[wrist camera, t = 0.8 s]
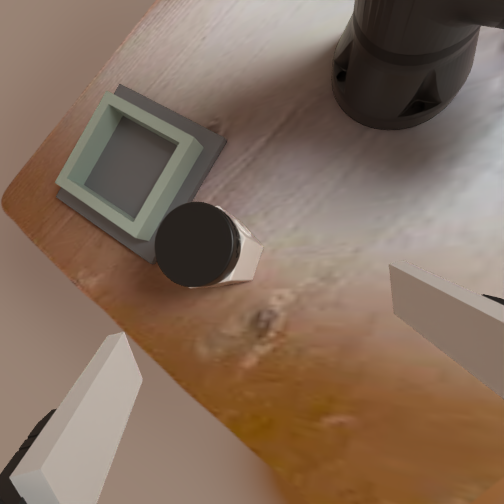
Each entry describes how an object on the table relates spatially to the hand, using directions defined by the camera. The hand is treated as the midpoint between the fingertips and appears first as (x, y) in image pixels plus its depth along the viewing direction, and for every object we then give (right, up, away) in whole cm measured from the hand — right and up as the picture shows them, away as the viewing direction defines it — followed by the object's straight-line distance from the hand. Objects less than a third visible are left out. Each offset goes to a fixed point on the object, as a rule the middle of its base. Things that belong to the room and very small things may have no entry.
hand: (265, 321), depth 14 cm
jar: (-3, +3, +25) cm, 25 cm away
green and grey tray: (-18, +15, +29) cm, 37 cm away
